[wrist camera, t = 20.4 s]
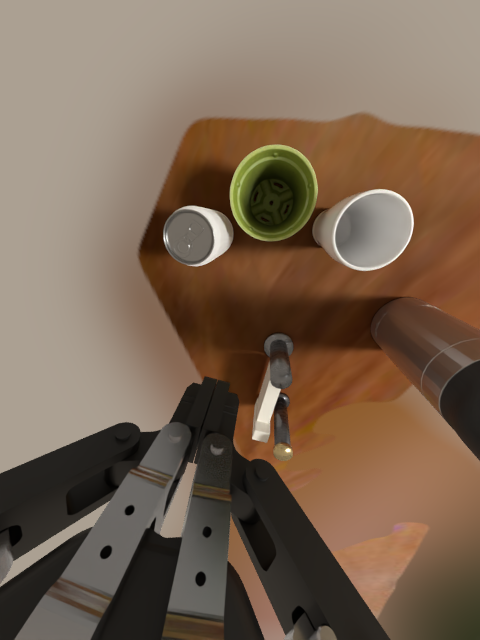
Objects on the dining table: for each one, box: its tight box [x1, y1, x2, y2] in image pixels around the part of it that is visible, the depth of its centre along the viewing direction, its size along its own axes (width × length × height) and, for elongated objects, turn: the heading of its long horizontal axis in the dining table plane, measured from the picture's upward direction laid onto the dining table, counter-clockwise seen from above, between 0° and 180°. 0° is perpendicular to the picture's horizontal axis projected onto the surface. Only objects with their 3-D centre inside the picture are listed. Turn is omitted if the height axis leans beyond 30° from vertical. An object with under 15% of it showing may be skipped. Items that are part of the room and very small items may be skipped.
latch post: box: [274, 393, 293, 461], centre depth 41 cm, size 4×4×12 cm
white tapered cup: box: [312, 189, 414, 271], centre depth 28 cm, size 7×7×15 cm
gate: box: [252, 362, 281, 443], centre depth 40 cm, size 10×2×8 cm, turn 168°
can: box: [163, 206, 233, 266], centre depth 31 cm, size 6×6×12 cm
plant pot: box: [230, 145, 318, 241], centre depth 30 cm, size 9×9×9 cm
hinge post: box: [264, 333, 293, 389], centre depth 38 cm, size 5×5×10 cm
